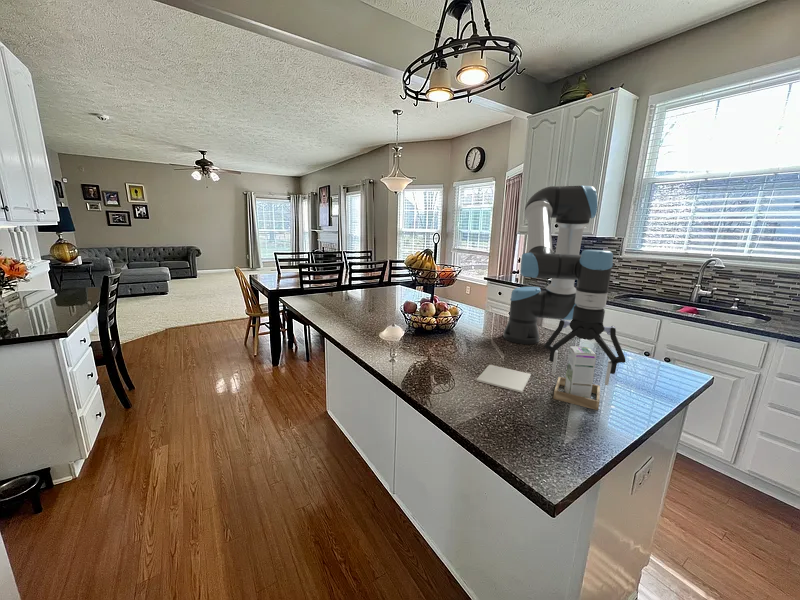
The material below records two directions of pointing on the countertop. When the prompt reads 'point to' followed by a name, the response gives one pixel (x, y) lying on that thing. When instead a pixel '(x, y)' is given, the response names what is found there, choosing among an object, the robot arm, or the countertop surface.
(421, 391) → the countertop surface
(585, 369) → the syrup box
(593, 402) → the corral
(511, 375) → the board
